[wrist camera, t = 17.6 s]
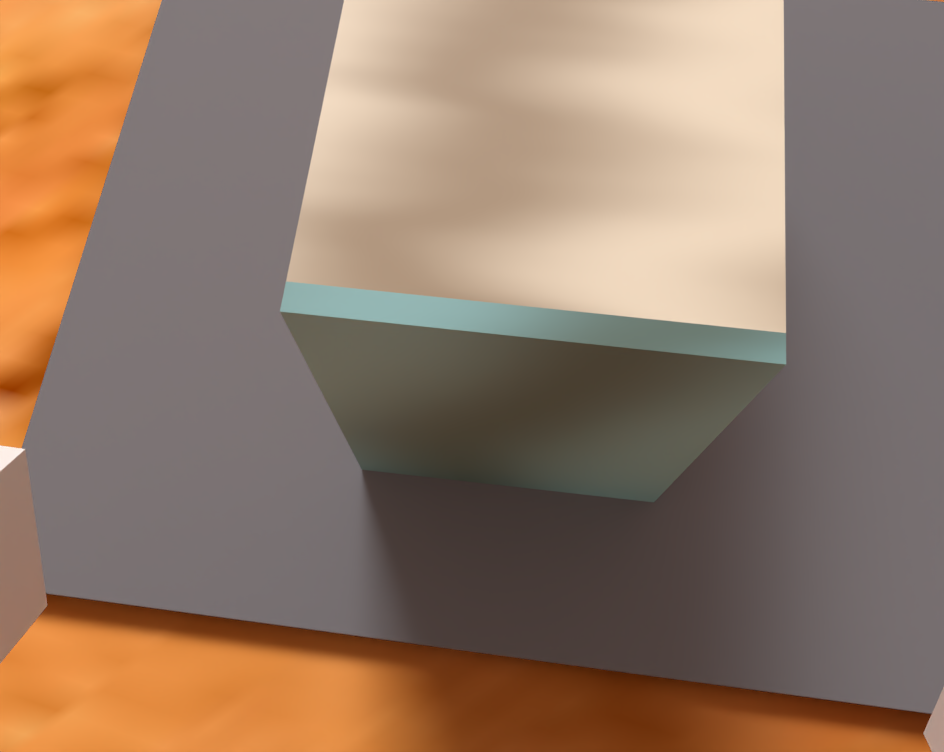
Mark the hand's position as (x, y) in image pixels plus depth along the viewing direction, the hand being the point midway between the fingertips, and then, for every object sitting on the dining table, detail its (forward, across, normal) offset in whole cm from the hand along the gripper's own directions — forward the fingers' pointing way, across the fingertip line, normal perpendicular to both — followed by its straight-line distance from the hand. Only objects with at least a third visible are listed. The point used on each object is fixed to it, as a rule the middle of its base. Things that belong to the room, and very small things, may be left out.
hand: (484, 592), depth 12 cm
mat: (+10, 0, -2) cm, 10 cm away
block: (+11, 0, -10) cm, 15 cm away
